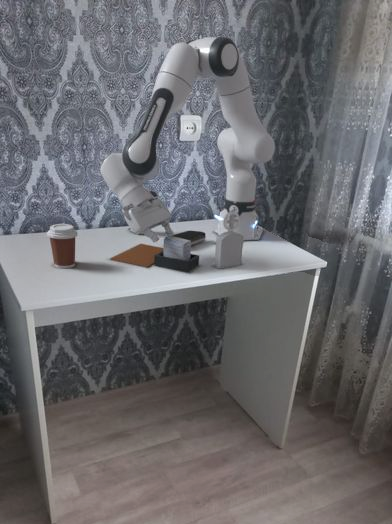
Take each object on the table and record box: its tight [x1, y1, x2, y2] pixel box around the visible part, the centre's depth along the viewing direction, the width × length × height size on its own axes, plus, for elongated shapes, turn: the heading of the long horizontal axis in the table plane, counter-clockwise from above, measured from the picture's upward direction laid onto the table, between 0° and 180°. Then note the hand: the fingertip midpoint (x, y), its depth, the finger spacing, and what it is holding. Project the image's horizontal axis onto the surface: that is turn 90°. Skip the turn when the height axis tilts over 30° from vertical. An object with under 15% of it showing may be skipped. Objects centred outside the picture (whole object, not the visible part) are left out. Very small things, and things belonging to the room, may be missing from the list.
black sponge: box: [164, 230, 207, 246], centre depth 180 cm, size 16×8×4 cm, turn 143°
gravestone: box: [213, 210, 244, 270], centre depth 159 cm, size 3×9×18 cm, turn 127°
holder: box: [153, 250, 200, 274], centre depth 159 cm, size 8×12×4 cm
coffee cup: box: [46, 223, 78, 269], centre depth 152 cm, size 9×9×12 cm
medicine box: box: [163, 235, 192, 261], centre depth 158 cm, size 8×4×9 cm, turn 56°
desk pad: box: [109, 243, 164, 268], centre depth 167 cm, size 20×14×1 cm
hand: (163, 237), depth 158 cm, fingers open, 8 cm apart
